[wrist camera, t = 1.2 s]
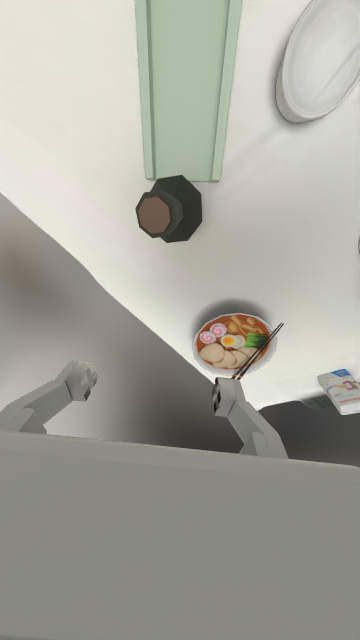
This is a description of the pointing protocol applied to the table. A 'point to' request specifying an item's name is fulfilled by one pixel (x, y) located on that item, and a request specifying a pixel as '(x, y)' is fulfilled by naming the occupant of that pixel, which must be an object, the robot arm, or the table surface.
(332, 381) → the ink box
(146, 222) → the wine bottle
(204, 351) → the ramen bowl
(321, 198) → the table surface
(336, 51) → the ramekin
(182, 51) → the tray
